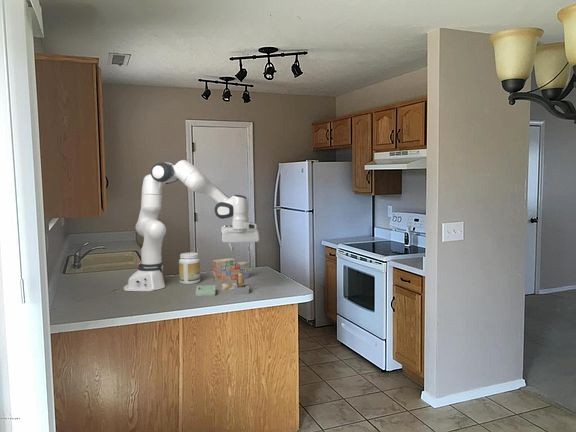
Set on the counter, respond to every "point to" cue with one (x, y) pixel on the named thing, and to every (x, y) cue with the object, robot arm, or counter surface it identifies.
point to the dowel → (240, 280)
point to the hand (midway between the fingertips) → (240, 250)
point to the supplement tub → (189, 268)
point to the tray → (206, 290)
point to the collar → (241, 289)
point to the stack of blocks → (229, 269)
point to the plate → (228, 286)
